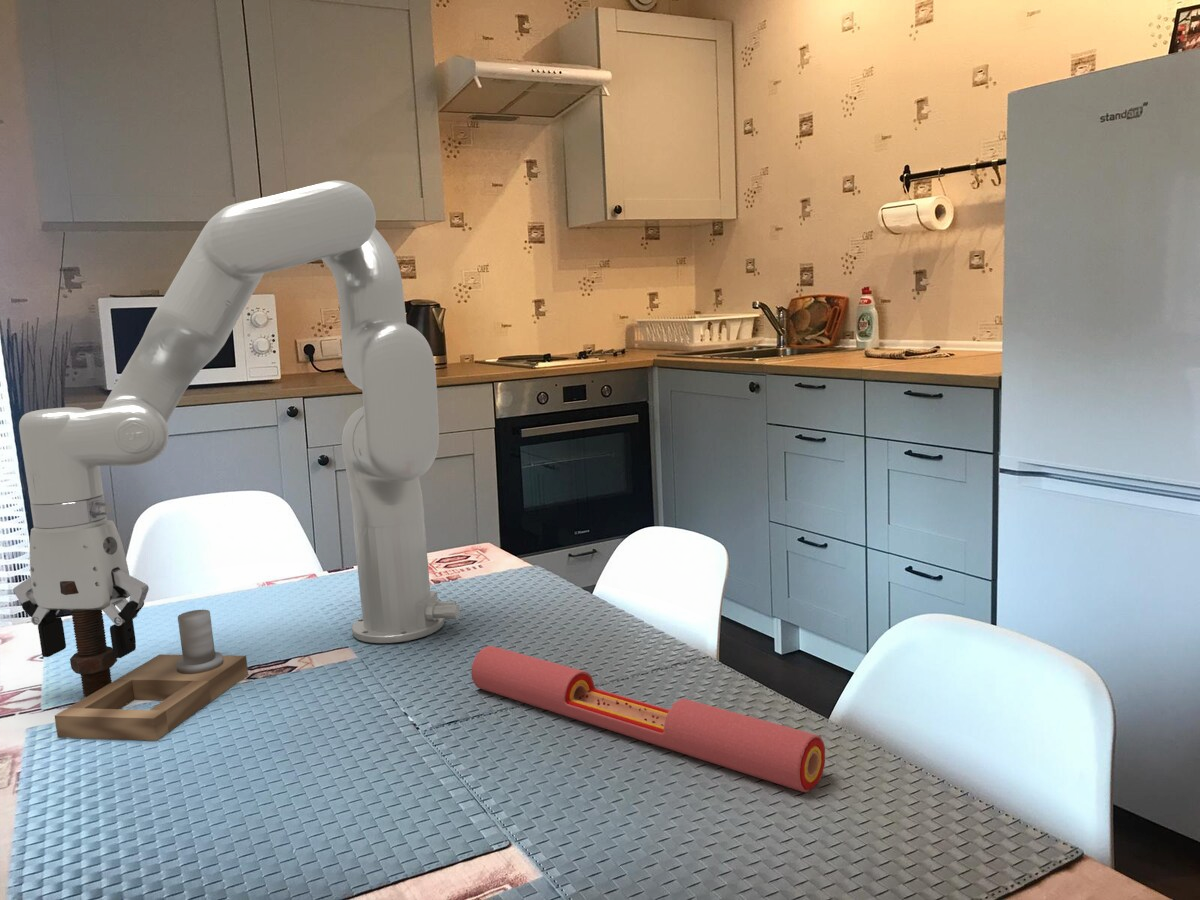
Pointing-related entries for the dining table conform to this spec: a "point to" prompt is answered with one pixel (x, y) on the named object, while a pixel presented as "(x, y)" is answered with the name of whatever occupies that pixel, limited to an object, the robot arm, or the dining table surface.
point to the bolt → (89, 646)
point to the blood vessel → (658, 719)
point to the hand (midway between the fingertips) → (89, 653)
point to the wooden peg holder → (158, 689)
